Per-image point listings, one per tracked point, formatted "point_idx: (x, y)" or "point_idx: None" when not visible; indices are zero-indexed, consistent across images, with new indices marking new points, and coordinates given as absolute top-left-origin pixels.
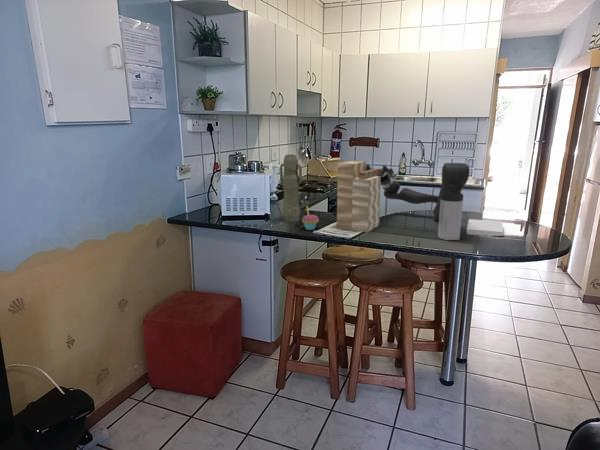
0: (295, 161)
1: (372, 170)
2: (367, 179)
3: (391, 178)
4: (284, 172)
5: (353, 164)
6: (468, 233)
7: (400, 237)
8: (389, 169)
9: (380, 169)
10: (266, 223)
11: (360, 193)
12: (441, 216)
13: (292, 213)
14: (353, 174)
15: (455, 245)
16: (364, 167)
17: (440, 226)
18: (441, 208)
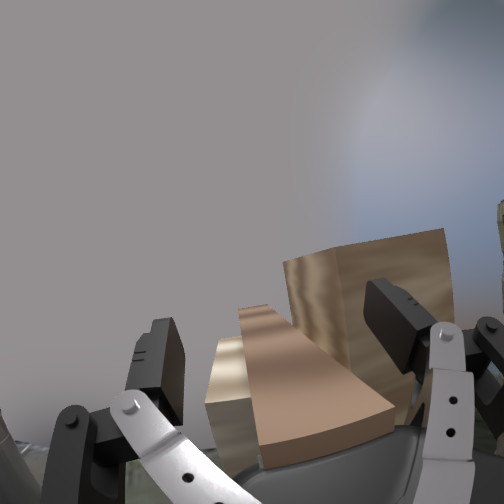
0: (501, 221)
1: (254, 330)
2: (230, 340)
3: None
4: None
5: (283, 264)
6: None
7: (146, 497)
8: (100, 413)
9: (252, 405)
10: (494, 372)
11: None
12: (21, 455)
13: (498, 382)
14: (291, 308)
15: (39, 471)
16: (331, 298)
17: (34, 479)
18: (11, 436)
